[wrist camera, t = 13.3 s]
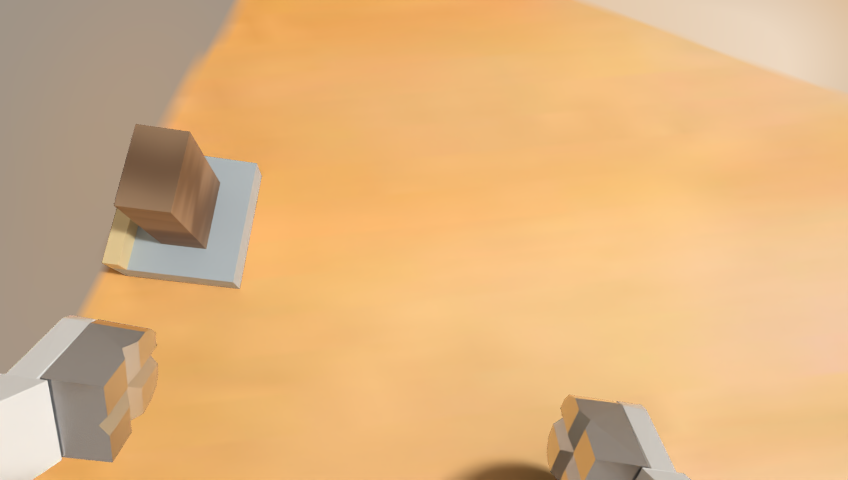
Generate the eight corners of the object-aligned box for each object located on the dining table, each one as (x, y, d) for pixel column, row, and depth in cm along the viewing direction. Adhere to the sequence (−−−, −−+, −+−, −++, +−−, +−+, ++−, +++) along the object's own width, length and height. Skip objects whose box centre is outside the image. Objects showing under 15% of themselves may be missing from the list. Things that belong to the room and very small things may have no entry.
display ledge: (239, 288, 39) (228, 277, 35) (125, 275, 38) (101, 262, 34) (261, 176, 42) (253, 154, 38) (155, 161, 41) (136, 137, 37)
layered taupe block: (206, 249, 37) (170, 212, 29) (157, 243, 37) (109, 204, 29) (220, 182, 38) (189, 131, 31) (173, 176, 38) (131, 123, 30)
